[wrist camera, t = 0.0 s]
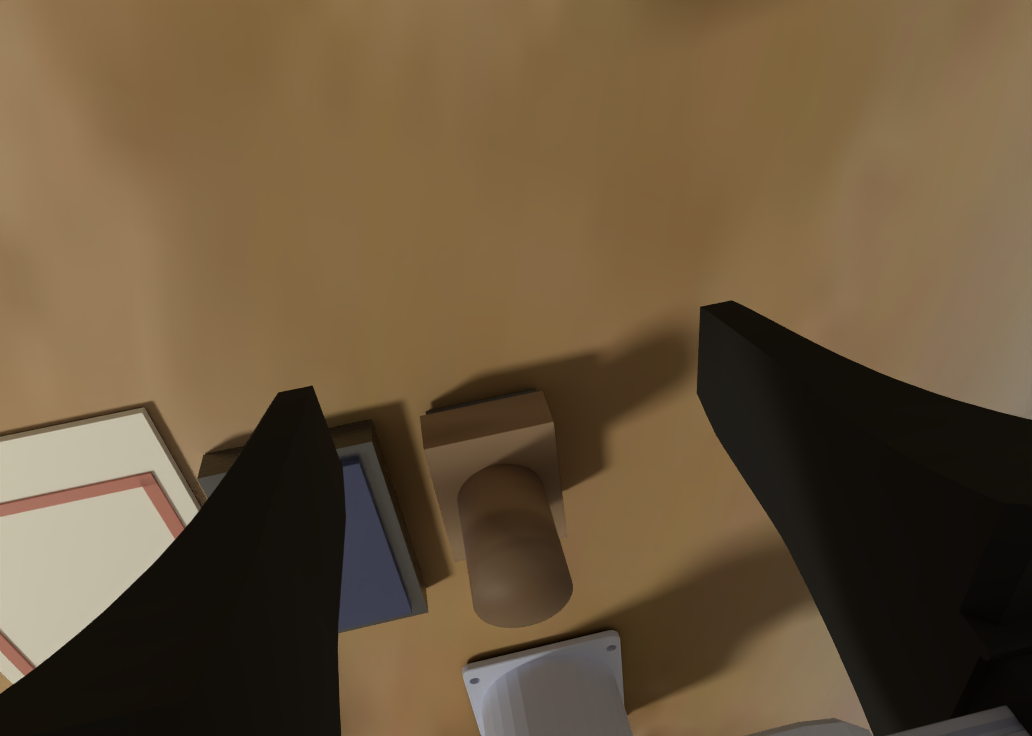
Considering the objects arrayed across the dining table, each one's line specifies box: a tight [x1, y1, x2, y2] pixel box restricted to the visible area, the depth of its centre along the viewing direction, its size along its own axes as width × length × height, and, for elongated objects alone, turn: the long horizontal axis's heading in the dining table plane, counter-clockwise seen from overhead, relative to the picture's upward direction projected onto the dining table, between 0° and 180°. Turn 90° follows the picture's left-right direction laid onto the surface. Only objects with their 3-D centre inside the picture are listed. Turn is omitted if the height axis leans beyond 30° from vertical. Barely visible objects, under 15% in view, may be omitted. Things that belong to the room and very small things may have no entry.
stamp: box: [420, 389, 573, 628], centre depth 25 cm, size 6×4×7 cm
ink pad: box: [197, 420, 428, 633], centre depth 28 cm, size 10×6×2 cm, turn 7°
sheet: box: [0, 407, 201, 684], centre depth 28 cm, size 15×10×1 cm
